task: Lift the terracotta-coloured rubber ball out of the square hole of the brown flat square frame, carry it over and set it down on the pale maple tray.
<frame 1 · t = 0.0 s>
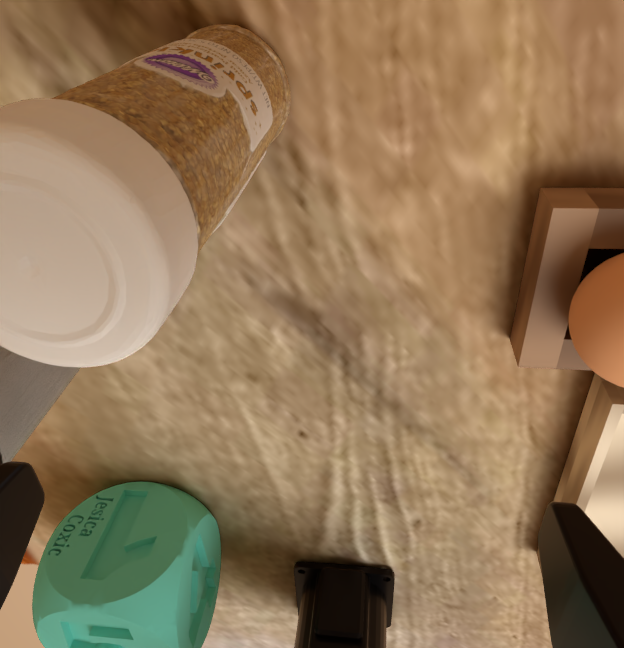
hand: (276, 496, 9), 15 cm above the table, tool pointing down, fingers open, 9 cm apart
ball: (622, 284, 21), point 1 cm above the table, touching brown flat square frame
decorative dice: (160, 517, 36), on the table
sprinkles bottle: (231, 91, 20), on the table
brown flat square frame: (614, 272, 22), on the table
grey hollow cylinder: (85, 276, 26), on the table
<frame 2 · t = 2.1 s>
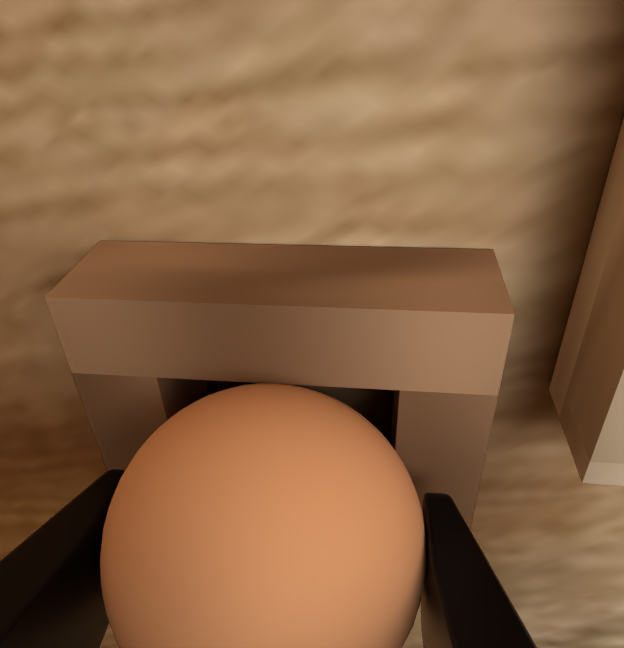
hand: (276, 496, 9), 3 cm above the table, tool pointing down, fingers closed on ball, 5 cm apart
ball: (291, 428, 11), point 1 cm above the table, touching gripper, brown flat square frame
brown flat square frame: (298, 394, 12), on the table
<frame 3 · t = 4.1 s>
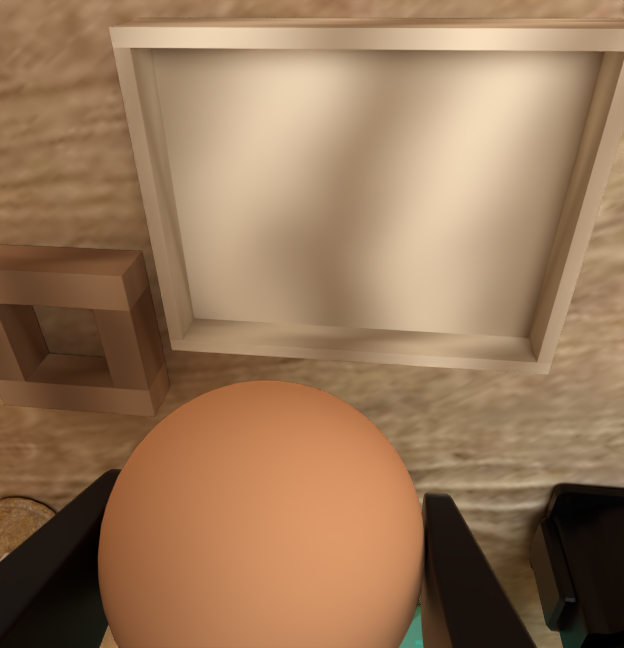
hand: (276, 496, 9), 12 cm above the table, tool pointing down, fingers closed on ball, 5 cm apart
ball: (289, 425, 11), point 11 cm above the table, touching gripper
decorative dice: (452, 630, 35), on the table
sprinkles bottle: (33, 515, 33), on the table
brown flat square frame: (79, 319, 24), on the table
tray: (362, 197, 19), on the table
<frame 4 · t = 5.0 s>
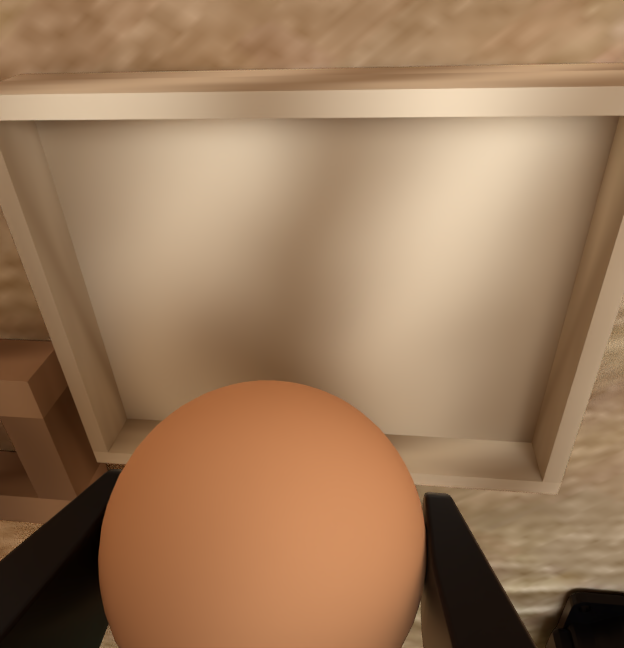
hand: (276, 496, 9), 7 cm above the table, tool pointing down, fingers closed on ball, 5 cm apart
ball: (290, 425, 11), point 6 cm above the table, touching gripper
tray: (318, 281, 15), on the table
when the fingers open (4 cm above the table, at t = 5.9 s): ball drops 2 cm, resting on tray.
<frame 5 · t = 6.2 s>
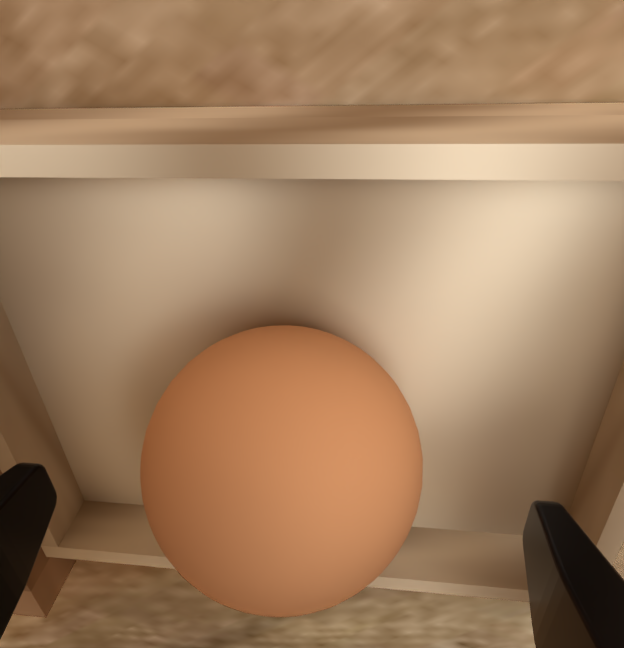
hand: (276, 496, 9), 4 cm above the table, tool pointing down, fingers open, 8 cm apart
ball: (301, 374, 12), point 1 cm above the table, touching tray
tray: (305, 354, 13), on the table
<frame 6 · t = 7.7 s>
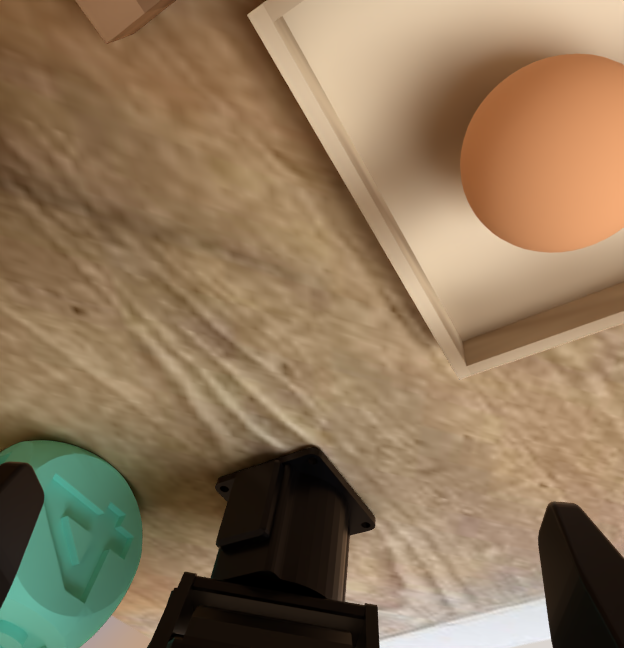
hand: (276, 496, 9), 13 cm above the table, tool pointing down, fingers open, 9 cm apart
ball: (536, 129, 17), point 1 cm above the table, touching tray
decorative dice: (70, 482, 32), on the table
tray: (529, 122, 17), on the table
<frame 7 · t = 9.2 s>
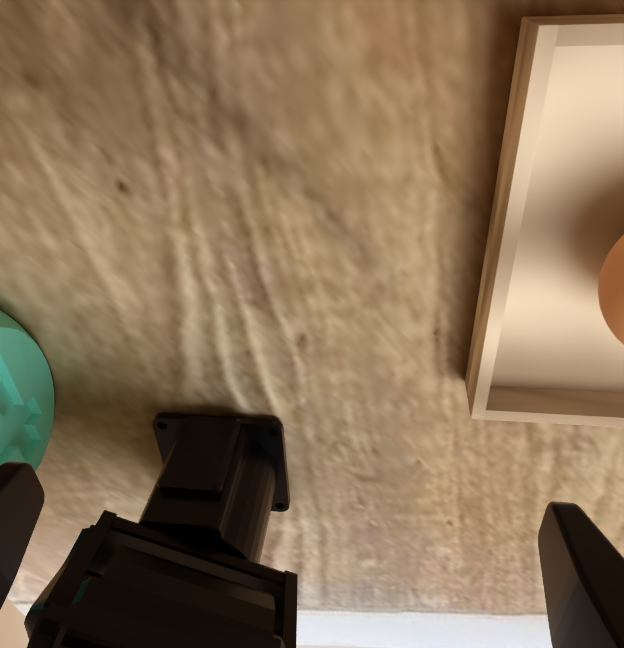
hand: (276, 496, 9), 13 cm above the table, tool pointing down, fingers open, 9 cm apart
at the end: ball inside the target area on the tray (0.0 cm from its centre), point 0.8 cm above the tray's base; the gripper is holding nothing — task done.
